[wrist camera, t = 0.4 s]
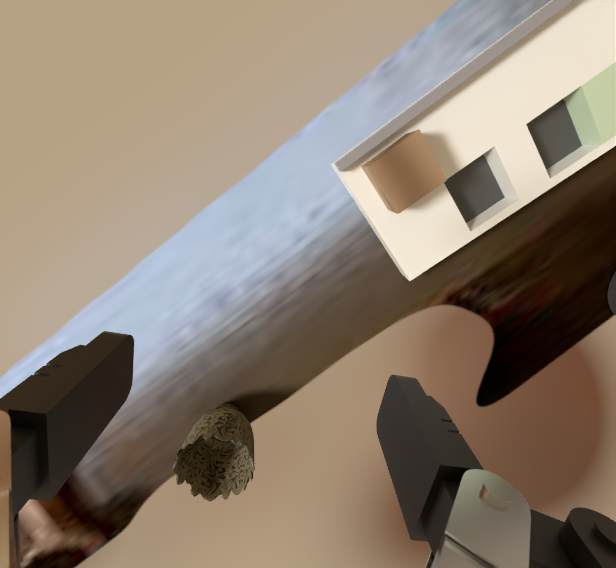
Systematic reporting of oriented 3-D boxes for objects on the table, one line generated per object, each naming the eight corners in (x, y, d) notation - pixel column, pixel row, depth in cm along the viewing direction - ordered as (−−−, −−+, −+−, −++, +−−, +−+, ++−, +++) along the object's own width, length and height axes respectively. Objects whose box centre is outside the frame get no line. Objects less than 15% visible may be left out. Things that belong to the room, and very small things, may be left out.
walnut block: (406, 133, 28) (419, 129, 25) (431, 179, 30) (447, 180, 27) (361, 166, 29) (368, 165, 26) (388, 210, 30) (398, 214, 27)
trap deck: (618, -51, 27) (697, -104, 22) (664, 99, 31) (740, 84, 26) (330, 164, 31) (339, 162, 26) (401, 273, 35) (421, 291, 30)
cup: (273, 418, 40) (270, 476, 32) (225, 449, 41) (210, 513, 33) (232, 374, 37) (217, 425, 30) (182, 409, 38) (155, 467, 31)
